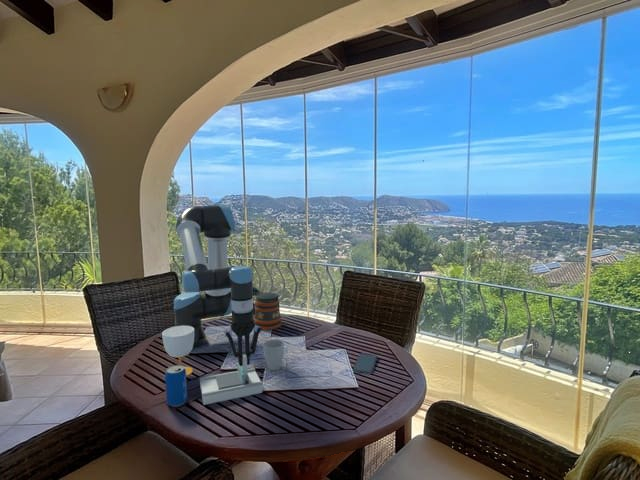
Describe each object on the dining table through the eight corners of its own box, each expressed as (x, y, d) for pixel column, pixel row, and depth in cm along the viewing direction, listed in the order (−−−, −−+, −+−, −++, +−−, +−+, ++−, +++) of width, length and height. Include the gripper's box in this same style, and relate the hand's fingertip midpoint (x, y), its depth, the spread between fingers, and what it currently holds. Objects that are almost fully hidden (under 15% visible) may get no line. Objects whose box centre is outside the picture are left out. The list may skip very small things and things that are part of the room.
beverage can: (180, 409, 124) (178, 374, 122) (162, 406, 125) (160, 372, 123) (191, 398, 130) (189, 365, 128) (174, 396, 131) (172, 363, 130)
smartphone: (352, 369, 148) (360, 352, 162) (352, 373, 149) (360, 356, 163) (371, 372, 146) (377, 354, 160) (371, 376, 146) (377, 358, 160)
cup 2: (287, 364, 155) (287, 341, 154) (279, 373, 147) (278, 348, 146) (269, 361, 157) (269, 338, 156) (260, 370, 150) (259, 346, 149)
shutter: (215, 378, 137) (215, 368, 137) (240, 373, 140) (240, 363, 140) (218, 390, 129) (218, 379, 128) (245, 384, 132) (244, 374, 132)
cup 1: (157, 377, 145) (155, 334, 143) (179, 363, 156) (176, 324, 154) (182, 382, 141) (180, 338, 139) (202, 368, 152) (200, 327, 150)
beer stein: (240, 327, 197) (239, 289, 195) (256, 318, 211) (255, 283, 208) (272, 332, 190) (271, 293, 187) (286, 322, 203) (285, 286, 201)
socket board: (200, 387, 137) (199, 377, 136) (254, 377, 144) (254, 367, 144) (203, 405, 126) (202, 394, 125) (262, 392, 133) (262, 382, 133)
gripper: (225, 315, 127) (228, 381, 130) (263, 310, 132) (264, 374, 135) (221, 309, 134) (224, 372, 137) (258, 304, 139) (259, 365, 142)
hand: (244, 373), depth 136 cm, fingers closed
